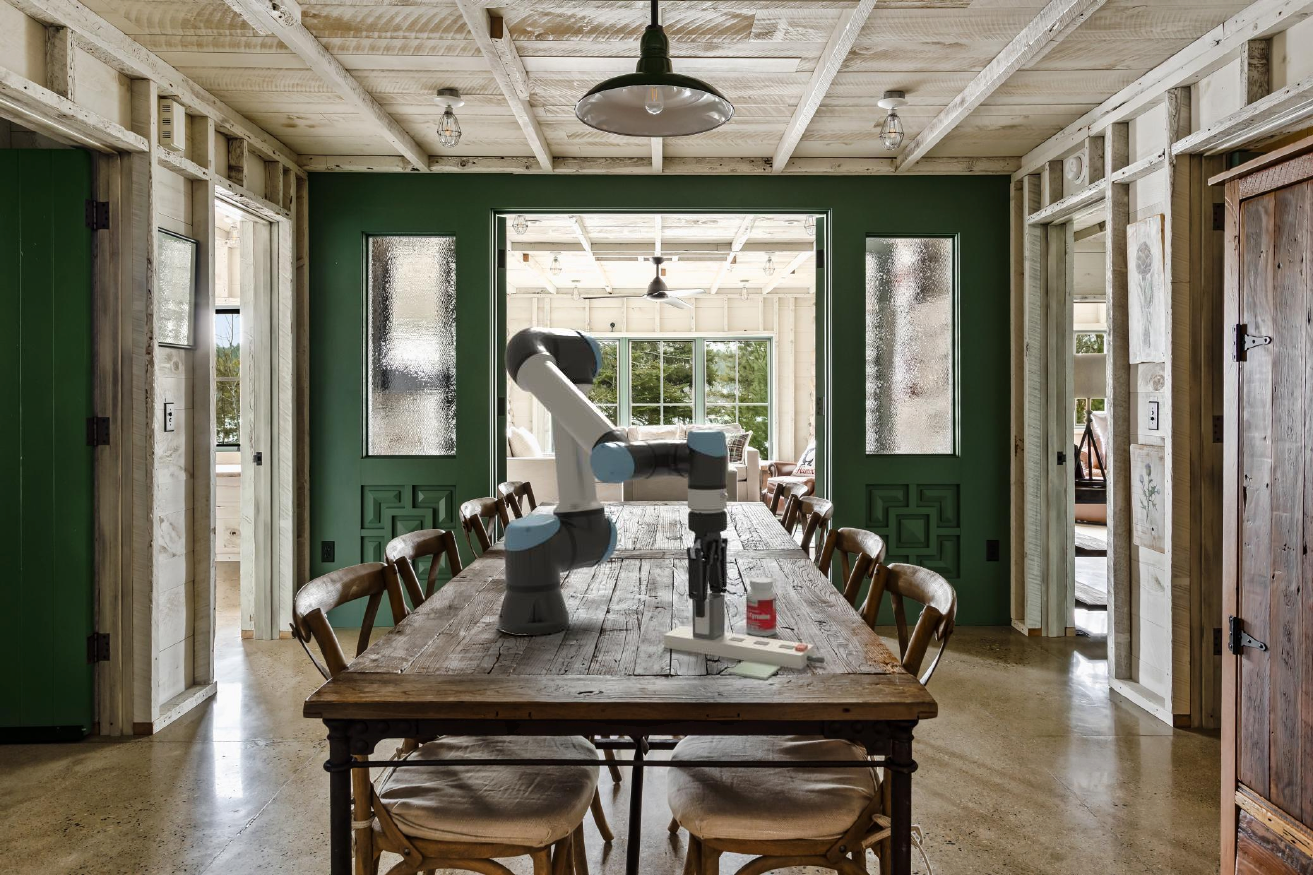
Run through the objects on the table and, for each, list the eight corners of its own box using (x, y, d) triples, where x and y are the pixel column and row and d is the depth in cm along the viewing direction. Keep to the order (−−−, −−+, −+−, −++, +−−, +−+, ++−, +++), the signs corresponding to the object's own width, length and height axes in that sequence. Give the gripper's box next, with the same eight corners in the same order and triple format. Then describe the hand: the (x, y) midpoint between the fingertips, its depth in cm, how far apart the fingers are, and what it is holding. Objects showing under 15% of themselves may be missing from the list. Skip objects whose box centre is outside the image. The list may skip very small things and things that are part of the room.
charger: (692, 646, 158) (692, 597, 158) (703, 639, 162) (703, 592, 162) (714, 649, 156) (713, 600, 155) (724, 643, 160) (724, 594, 159)
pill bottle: (742, 635, 168) (742, 581, 167) (751, 627, 173) (751, 575, 173) (771, 638, 165) (771, 584, 164) (780, 630, 171) (779, 577, 170)
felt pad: (728, 673, 144) (728, 671, 144) (744, 662, 150) (744, 659, 150) (765, 679, 141) (765, 677, 141) (780, 667, 147) (780, 665, 147)
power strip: (664, 647, 160) (663, 631, 160) (680, 637, 166) (680, 622, 166) (817, 671, 144) (817, 654, 144) (829, 660, 151) (829, 643, 150)
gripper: (704, 517, 148) (705, 644, 149) (743, 505, 163) (744, 620, 165) (668, 514, 152) (669, 638, 153) (710, 503, 167) (711, 616, 168)
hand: (708, 629), depth 159 cm, fingers closed on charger, 5 cm apart
